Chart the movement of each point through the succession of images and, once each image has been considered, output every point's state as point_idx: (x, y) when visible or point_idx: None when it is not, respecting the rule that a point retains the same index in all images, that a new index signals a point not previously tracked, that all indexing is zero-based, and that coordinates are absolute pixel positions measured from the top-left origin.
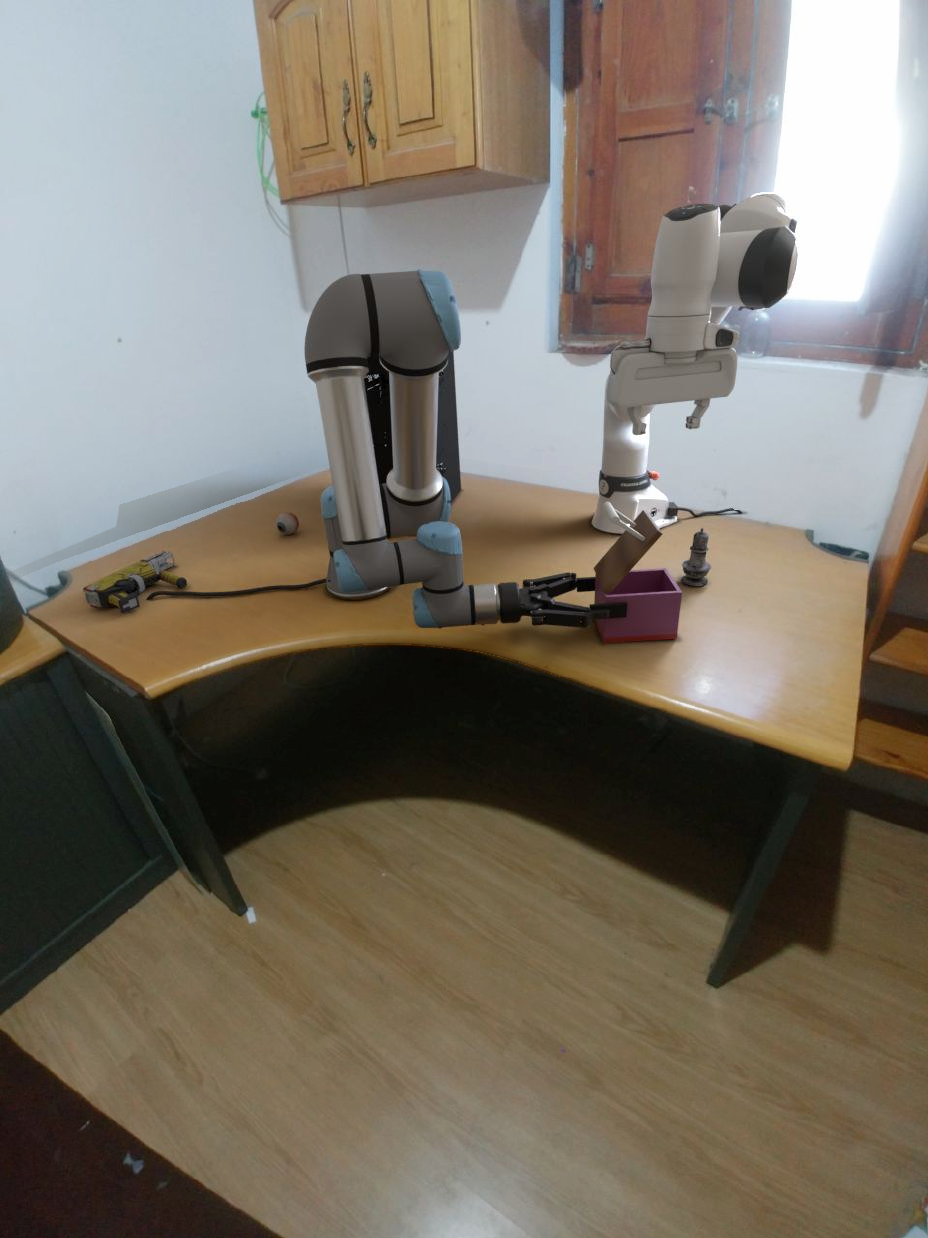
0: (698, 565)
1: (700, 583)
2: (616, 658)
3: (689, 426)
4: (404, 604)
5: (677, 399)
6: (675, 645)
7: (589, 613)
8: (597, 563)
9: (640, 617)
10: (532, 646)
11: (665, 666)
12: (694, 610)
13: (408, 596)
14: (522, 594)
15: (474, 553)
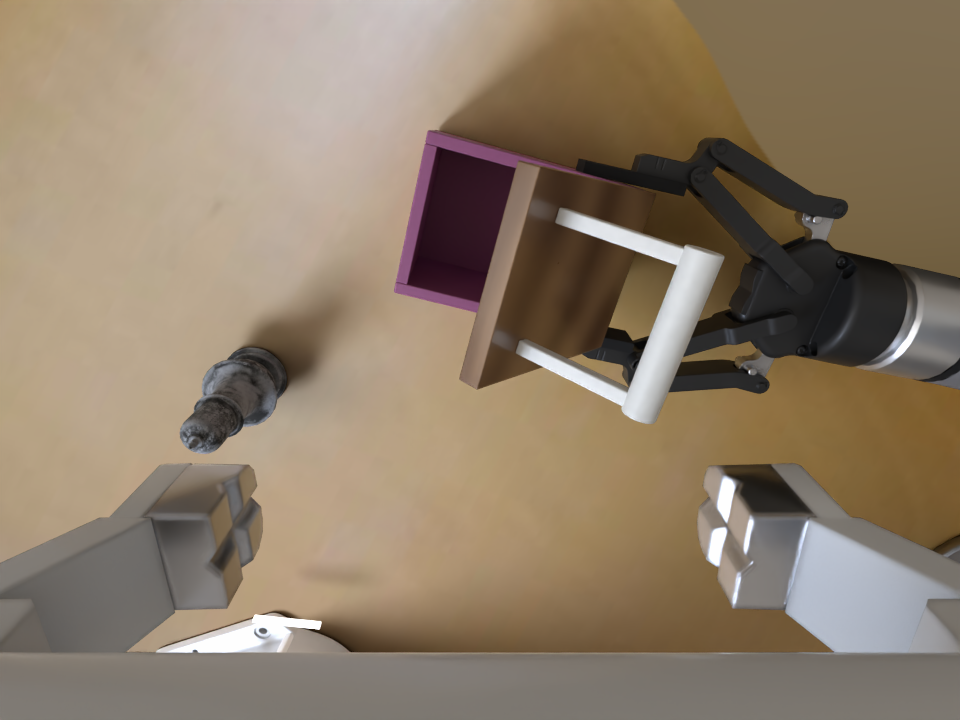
0: (241, 379)
1: (250, 353)
2: (615, 100)
3: (249, 494)
4: (933, 483)
5: (448, 672)
6: (451, 107)
7: (698, 162)
8: (594, 348)
9: (534, 158)
10: (768, 219)
11: (523, 23)
12: (324, 246)
13: (908, 513)
14: (809, 318)
15: (681, 645)
